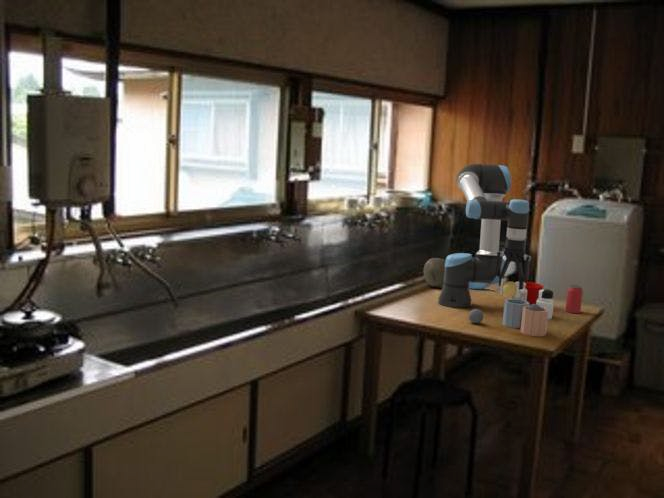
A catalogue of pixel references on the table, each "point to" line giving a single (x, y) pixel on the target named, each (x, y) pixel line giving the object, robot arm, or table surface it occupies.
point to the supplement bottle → (522, 293)
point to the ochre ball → (510, 288)
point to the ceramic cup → (533, 292)
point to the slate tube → (513, 312)
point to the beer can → (574, 299)
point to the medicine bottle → (546, 301)
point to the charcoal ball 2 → (534, 307)
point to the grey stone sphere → (435, 272)
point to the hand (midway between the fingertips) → (509, 295)
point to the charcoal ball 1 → (476, 316)
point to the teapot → (477, 285)
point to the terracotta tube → (534, 322)
